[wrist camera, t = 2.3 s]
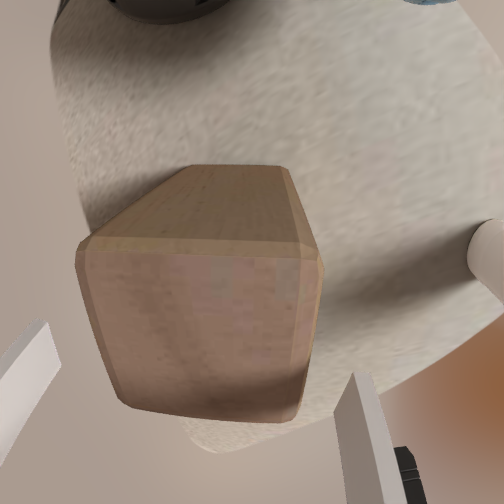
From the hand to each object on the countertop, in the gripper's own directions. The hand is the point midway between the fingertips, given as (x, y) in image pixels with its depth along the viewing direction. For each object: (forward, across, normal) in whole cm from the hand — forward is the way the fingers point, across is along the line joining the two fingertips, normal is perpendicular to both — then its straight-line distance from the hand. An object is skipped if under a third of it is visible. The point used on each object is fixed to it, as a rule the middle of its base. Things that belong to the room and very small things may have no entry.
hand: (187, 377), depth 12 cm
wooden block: (+21, 0, 0) cm, 21 cm away
